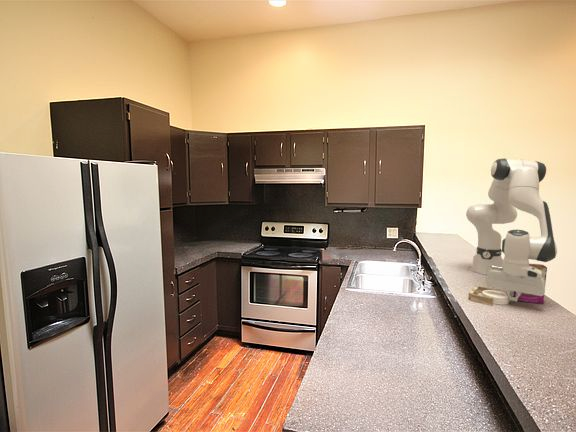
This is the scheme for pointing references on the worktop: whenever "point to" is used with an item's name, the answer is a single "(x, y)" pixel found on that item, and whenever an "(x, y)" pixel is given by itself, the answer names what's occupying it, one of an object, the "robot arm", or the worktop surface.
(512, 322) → the worktop surface
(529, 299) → the candy bar box
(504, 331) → the worktop surface
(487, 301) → the holder
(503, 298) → the coaster
